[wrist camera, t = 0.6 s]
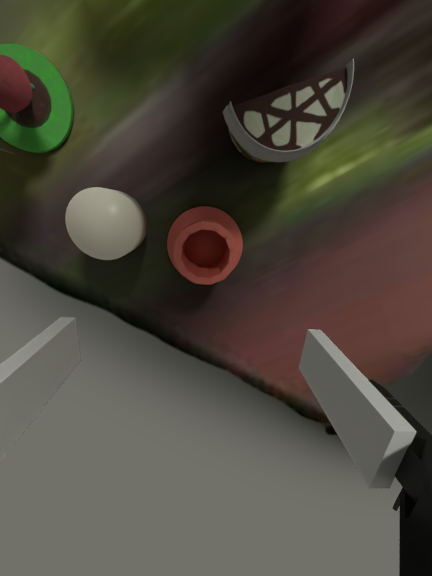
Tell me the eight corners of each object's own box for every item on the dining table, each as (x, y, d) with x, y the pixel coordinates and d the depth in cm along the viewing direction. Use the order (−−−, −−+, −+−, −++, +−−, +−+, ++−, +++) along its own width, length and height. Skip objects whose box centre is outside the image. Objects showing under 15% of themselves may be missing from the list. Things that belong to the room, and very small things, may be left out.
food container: (230, 184, 32) (241, 175, 23) (217, 135, 30) (224, 103, 21) (317, 156, 32) (365, 135, 22) (310, 103, 30) (360, 56, 20)
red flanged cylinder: (170, 201, 33) (161, 200, 26) (247, 211, 34) (258, 212, 27) (165, 276, 36) (157, 292, 30) (236, 284, 37) (243, 300, 31)
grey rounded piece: (91, 187, 32) (62, 182, 25) (151, 195, 32) (138, 192, 26) (94, 246, 34) (68, 256, 28) (150, 252, 35) (137, 263, 28)
